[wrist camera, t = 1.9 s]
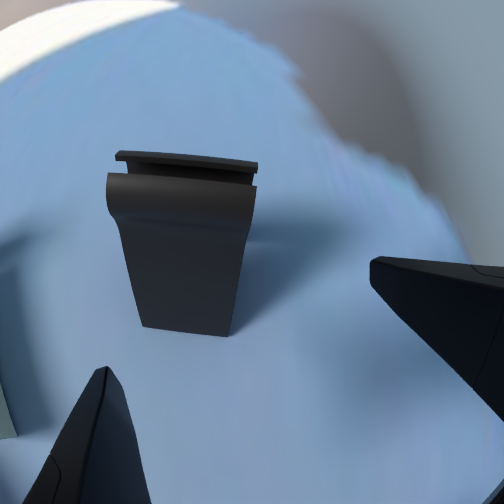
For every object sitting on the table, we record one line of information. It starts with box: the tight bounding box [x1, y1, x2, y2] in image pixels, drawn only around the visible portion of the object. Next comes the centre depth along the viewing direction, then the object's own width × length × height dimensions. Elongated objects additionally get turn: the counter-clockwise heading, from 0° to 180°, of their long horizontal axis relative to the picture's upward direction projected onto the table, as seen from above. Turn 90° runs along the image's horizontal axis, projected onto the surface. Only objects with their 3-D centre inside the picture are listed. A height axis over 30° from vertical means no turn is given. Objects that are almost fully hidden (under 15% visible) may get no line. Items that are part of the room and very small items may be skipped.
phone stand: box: [106, 150, 258, 337], centre depth 17 cm, size 9×6×12 cm, turn 175°
